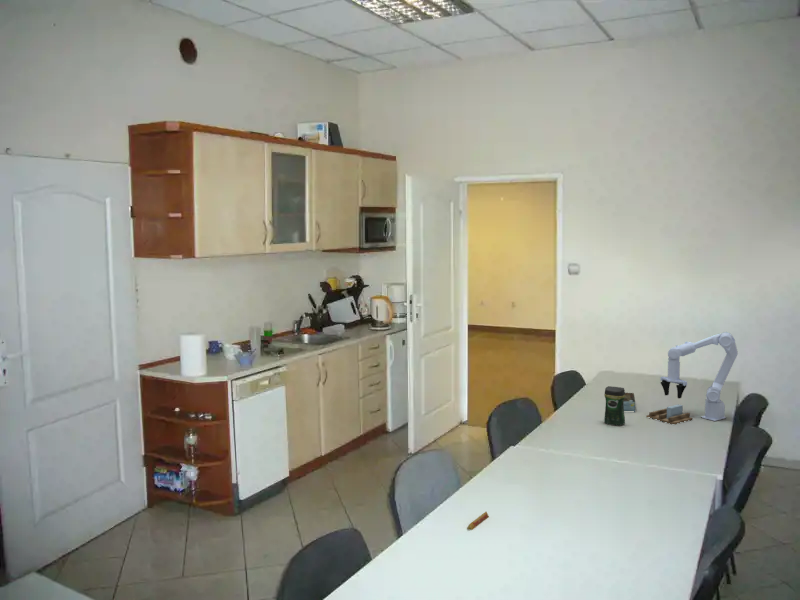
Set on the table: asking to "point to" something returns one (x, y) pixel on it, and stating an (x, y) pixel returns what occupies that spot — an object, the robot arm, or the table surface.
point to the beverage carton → (629, 402)
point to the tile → (674, 410)
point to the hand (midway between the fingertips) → (673, 396)
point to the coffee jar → (614, 405)
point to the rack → (662, 416)
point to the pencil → (478, 521)
